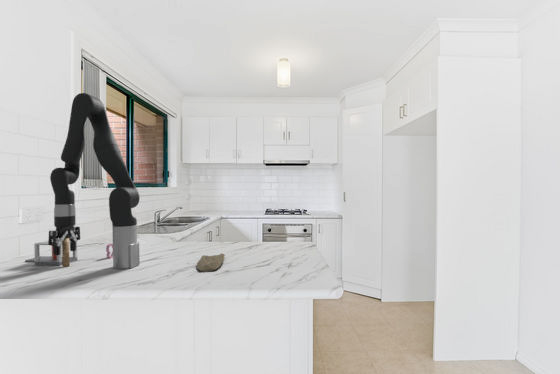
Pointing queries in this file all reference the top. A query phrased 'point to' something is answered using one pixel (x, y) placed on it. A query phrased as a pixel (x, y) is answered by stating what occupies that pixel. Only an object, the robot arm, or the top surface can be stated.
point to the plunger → (54, 255)
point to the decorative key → (109, 251)
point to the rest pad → (40, 258)
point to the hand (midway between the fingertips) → (65, 252)
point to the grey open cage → (50, 260)
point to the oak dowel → (65, 253)
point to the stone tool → (210, 262)
